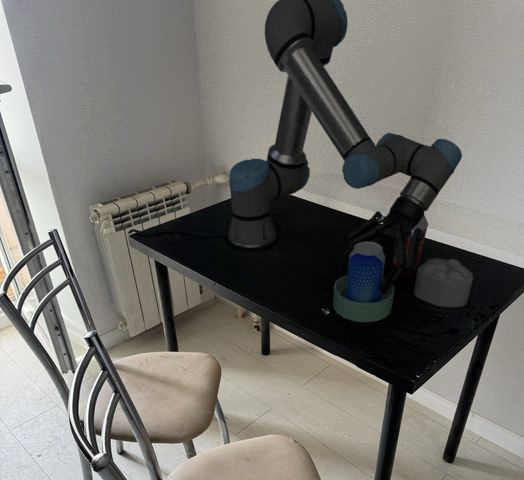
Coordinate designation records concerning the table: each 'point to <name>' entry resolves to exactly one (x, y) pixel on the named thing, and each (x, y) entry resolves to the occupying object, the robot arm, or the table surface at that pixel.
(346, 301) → the pale green round tub
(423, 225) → the smoothie
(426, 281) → the lumpy-topped squat cylinder
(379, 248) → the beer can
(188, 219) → the table surface
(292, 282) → the table surface
